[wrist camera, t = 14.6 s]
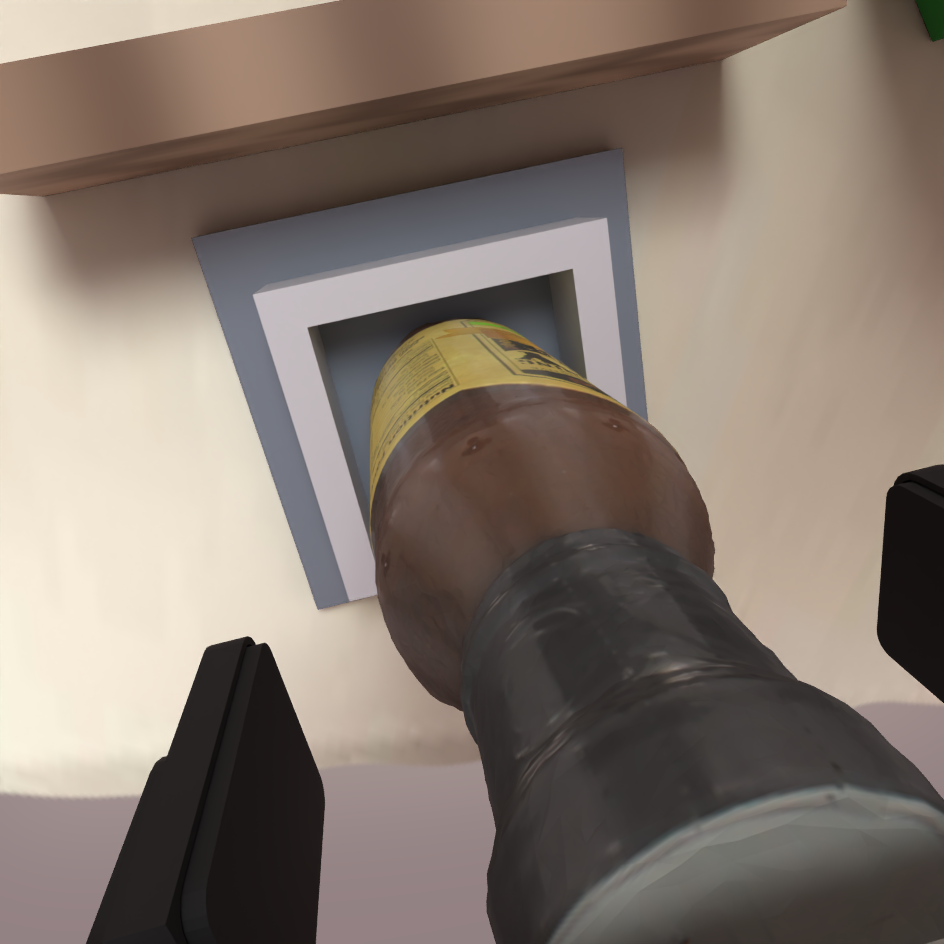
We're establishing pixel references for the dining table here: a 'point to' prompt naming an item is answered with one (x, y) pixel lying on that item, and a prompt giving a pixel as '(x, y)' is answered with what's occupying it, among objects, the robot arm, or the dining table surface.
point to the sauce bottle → (622, 675)
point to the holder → (412, 321)
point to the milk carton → (933, 17)
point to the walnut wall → (339, 76)
